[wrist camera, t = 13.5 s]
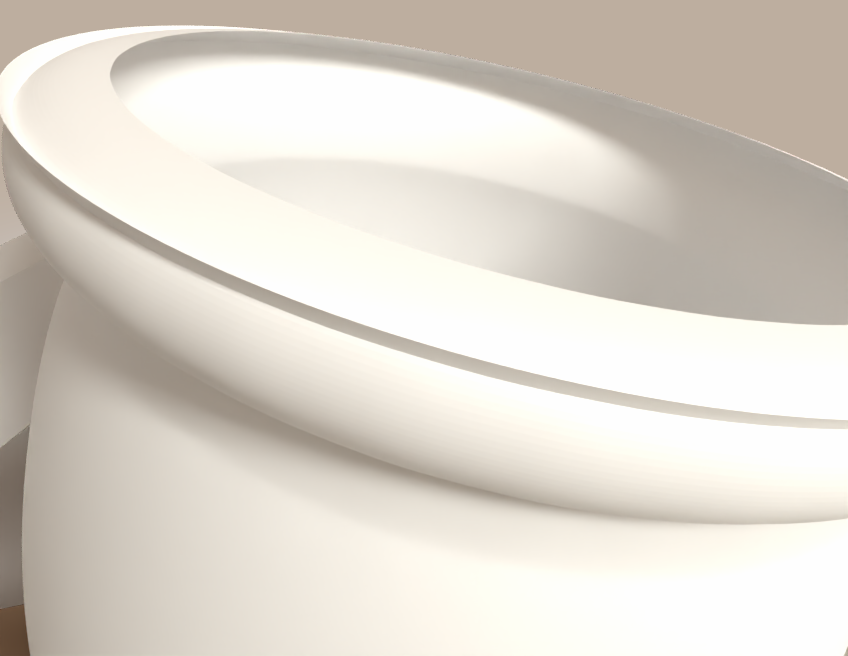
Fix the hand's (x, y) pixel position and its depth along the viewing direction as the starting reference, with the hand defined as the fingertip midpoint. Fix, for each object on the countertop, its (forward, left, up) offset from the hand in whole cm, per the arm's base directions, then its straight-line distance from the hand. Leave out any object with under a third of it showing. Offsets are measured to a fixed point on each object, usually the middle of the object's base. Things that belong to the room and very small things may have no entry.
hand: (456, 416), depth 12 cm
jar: (+1, -1, -10) cm, 10 cm away
